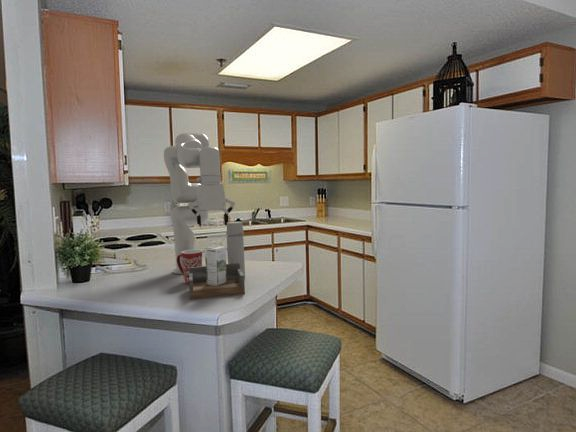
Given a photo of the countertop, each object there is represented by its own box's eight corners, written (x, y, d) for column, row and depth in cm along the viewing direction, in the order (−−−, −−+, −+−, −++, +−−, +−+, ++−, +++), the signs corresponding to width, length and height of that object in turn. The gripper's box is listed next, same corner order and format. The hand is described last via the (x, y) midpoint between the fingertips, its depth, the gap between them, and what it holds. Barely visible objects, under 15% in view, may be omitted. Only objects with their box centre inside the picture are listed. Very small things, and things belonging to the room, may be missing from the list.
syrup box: (216, 281, 156) (214, 245, 155) (227, 282, 153) (225, 246, 152) (206, 285, 151) (204, 247, 150) (217, 286, 148) (215, 248, 147)
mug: (208, 280, 170) (207, 249, 169) (194, 285, 162) (192, 253, 161) (186, 278, 176) (185, 248, 175) (172, 283, 168) (170, 252, 167)
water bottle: (243, 282, 165) (240, 223, 162) (225, 282, 166) (222, 223, 164) (249, 277, 174) (247, 220, 171) (232, 276, 175) (230, 221, 173)
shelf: (190, 289, 157) (189, 267, 156) (240, 284, 161) (239, 263, 160) (190, 299, 143) (188, 275, 142) (244, 293, 148) (243, 270, 147)
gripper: (187, 181, 143) (189, 227, 144) (234, 179, 147) (236, 225, 148) (187, 181, 150) (189, 225, 152) (232, 179, 154) (234, 223, 156)
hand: (213, 225), depth 150 cm, fingers open, 9 cm apart
